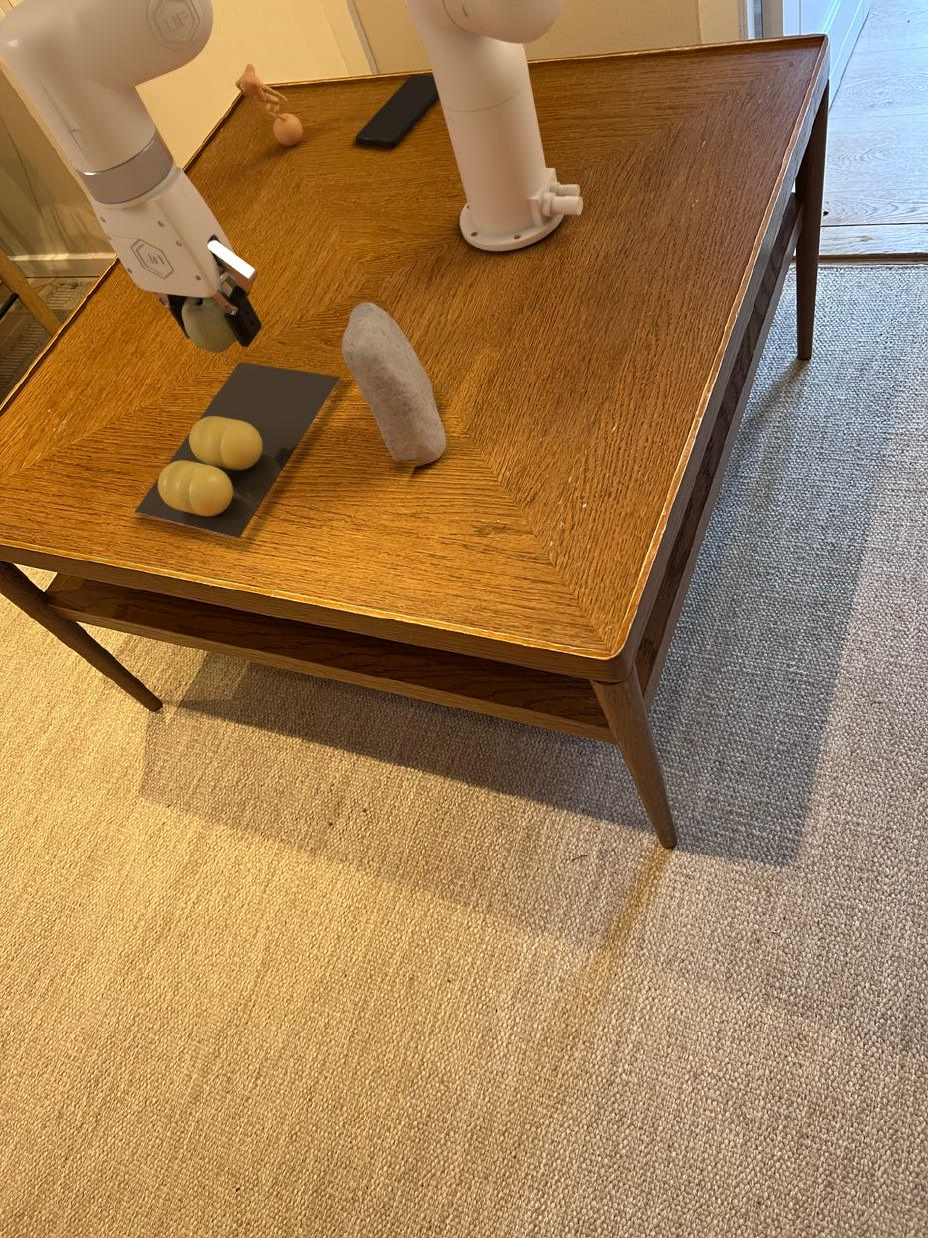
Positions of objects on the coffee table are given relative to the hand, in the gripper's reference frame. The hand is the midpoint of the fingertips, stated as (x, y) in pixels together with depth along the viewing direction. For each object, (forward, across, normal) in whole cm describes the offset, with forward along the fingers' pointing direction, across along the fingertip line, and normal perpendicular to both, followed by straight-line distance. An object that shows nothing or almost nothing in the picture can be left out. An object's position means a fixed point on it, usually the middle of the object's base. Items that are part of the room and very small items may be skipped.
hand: (224, 331), depth 90 cm
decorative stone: (+11, +18, +1) cm, 21 cm away
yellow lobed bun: (+10, +1, -8) cm, 13 cm away
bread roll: (+10, +1, -14) cm, 17 cm away
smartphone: (+11, -10, +54) cm, 56 cm away
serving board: (+11, 0, -6) cm, 13 cm away
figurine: (+11, -25, +46) cm, 54 cm away
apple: (+1, 0, 0) cm, 1 cm away
